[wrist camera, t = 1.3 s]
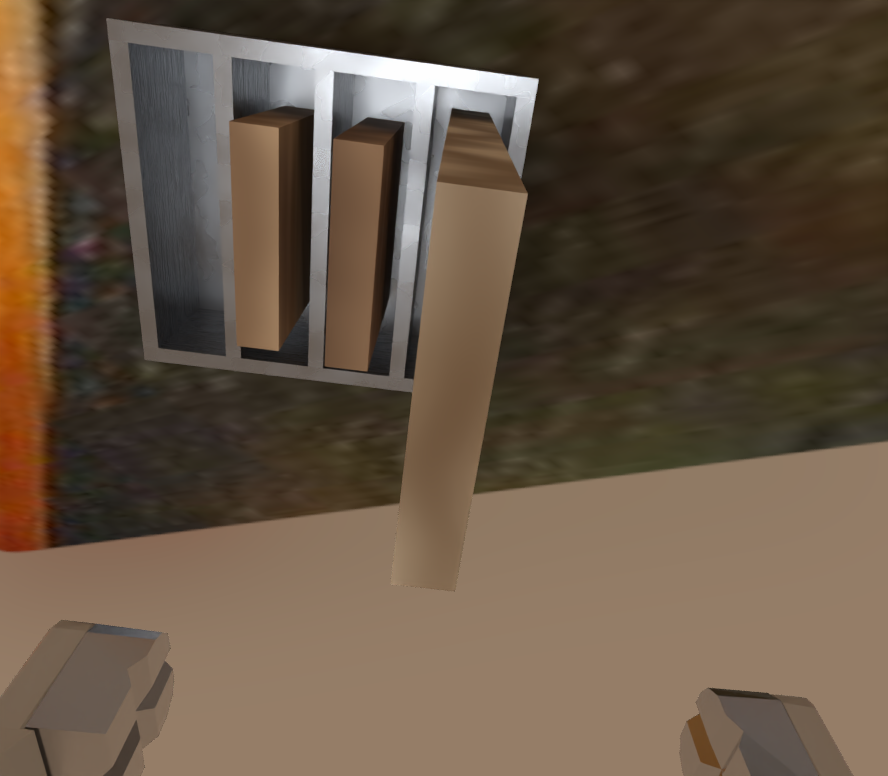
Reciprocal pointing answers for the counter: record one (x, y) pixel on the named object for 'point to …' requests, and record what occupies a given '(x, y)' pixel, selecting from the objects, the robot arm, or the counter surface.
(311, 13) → the counter surface
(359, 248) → the walnut offcut
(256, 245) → the oak offcut
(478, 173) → the birch sheet
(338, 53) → the rack
